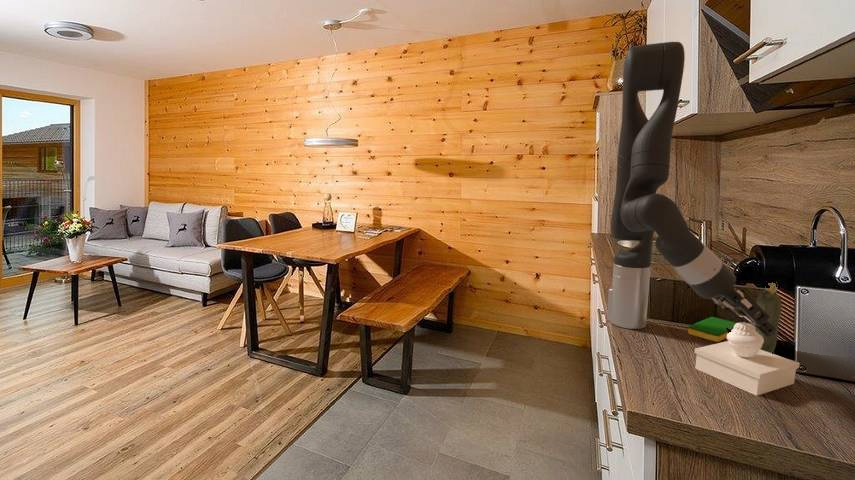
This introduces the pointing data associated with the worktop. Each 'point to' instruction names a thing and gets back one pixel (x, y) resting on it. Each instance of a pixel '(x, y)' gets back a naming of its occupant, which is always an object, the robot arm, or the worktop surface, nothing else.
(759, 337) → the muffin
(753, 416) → the worktop surface
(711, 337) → the dish sponge
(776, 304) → the vegetable
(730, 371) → the cardboard box
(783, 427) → the worktop surface
